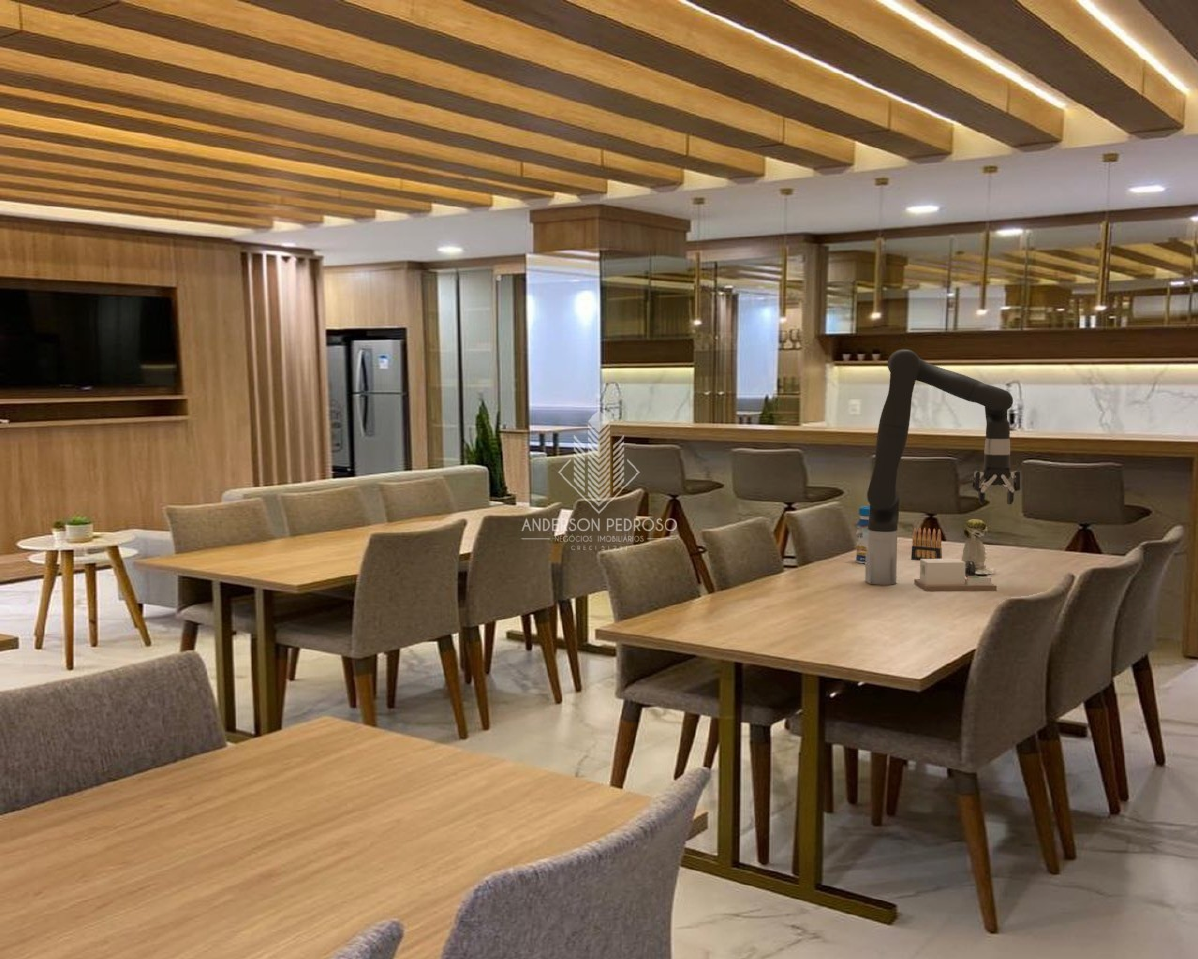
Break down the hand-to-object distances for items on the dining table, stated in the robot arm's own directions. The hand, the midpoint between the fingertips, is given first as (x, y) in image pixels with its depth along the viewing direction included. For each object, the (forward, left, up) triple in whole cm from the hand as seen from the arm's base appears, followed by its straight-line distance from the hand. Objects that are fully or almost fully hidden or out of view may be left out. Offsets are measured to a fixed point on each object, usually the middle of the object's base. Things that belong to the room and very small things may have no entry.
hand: (995, 504), depth 331 cm
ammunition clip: (-7, +47, -26) cm, 54 cm away
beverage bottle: (-29, +44, -26) cm, 59 cm away
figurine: (+2, +22, -26) cm, 34 cm away
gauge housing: (-13, -2, -26) cm, 29 cm away
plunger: (-14, -3, -23) cm, 28 cm away
